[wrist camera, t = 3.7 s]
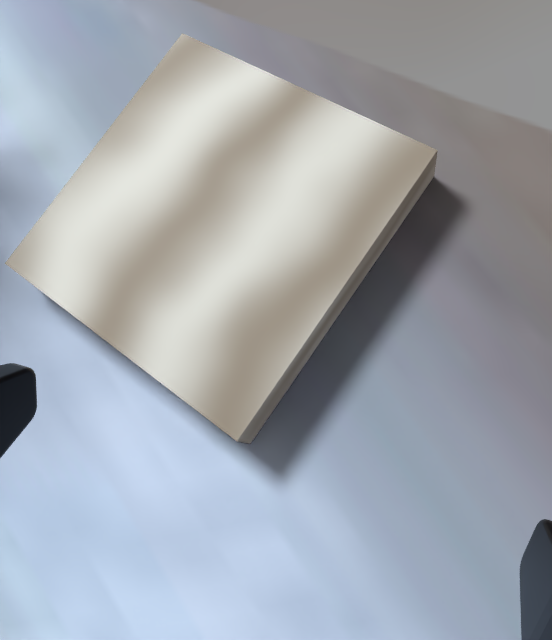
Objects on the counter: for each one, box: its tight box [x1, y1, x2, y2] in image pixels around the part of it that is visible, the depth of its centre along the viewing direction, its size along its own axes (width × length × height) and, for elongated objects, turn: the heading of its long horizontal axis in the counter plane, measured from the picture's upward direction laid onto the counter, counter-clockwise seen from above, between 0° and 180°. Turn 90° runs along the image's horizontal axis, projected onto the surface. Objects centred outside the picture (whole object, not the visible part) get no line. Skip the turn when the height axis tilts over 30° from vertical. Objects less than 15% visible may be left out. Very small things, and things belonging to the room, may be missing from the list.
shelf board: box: [5, 33, 437, 444], centre depth 24 cm, size 14×14×2 cm
